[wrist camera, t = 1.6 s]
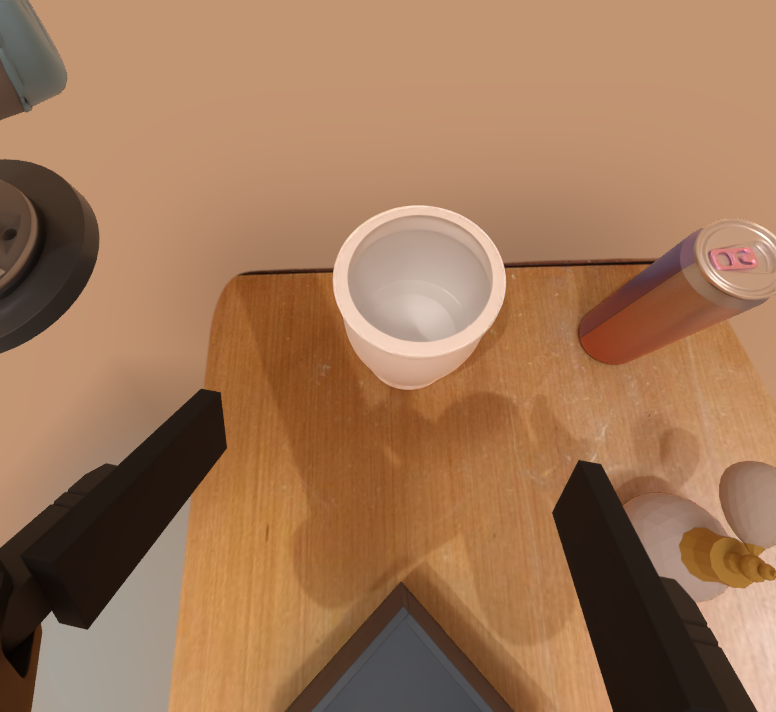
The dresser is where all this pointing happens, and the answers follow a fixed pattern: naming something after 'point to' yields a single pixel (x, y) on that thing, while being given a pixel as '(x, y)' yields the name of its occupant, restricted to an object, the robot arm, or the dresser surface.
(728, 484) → the perfume bottle
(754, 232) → the beverage can
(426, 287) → the jar
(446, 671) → the tray
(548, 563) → the dresser surface
